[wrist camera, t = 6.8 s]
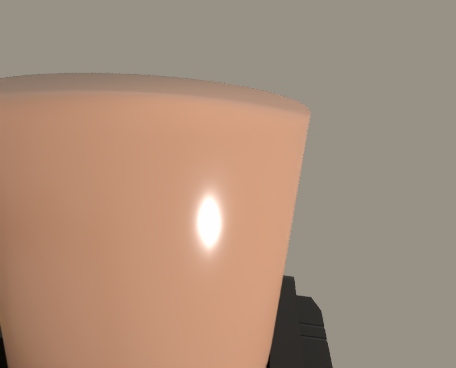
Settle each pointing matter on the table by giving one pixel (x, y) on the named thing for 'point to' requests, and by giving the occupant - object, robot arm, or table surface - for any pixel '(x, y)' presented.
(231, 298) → the terracotta canister
